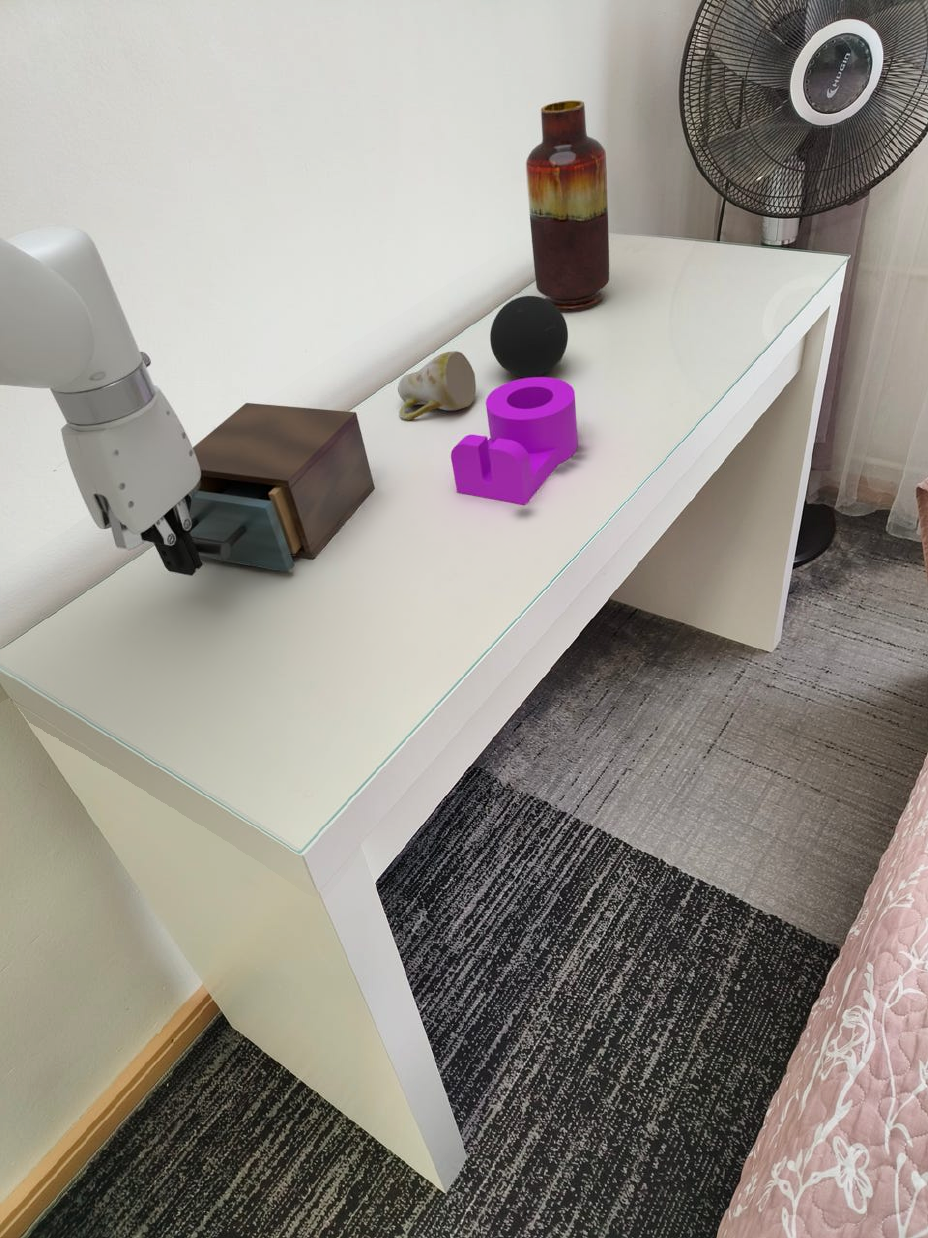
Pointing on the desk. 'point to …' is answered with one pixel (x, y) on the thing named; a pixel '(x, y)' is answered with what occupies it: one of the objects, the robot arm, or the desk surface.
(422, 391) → the mug
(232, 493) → the block
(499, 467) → the tape dispenser
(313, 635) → the desk surface
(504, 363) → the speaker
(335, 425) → the cabinet
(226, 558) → the drawer
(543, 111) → the vase
